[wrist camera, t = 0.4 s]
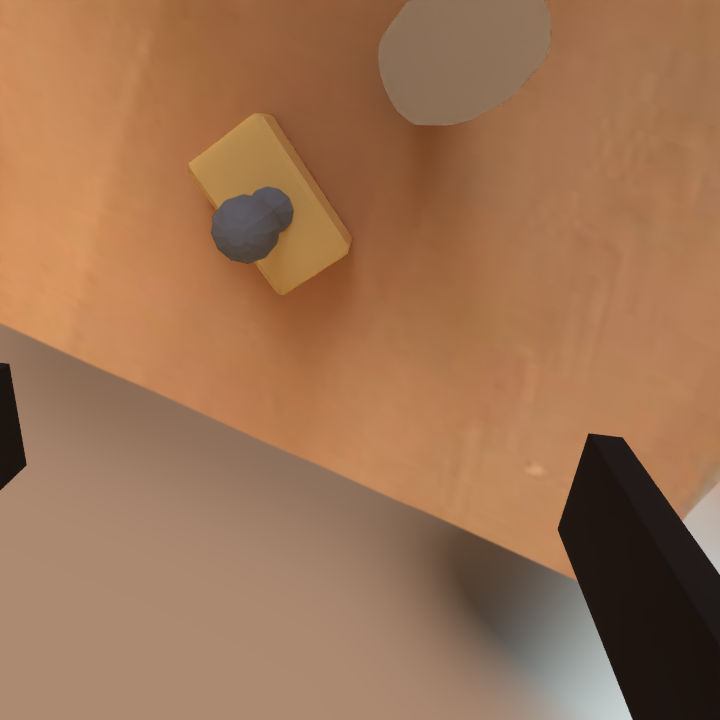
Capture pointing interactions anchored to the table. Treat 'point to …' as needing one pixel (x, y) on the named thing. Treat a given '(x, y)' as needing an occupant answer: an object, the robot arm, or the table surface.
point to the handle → (461, 56)
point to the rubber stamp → (268, 205)
